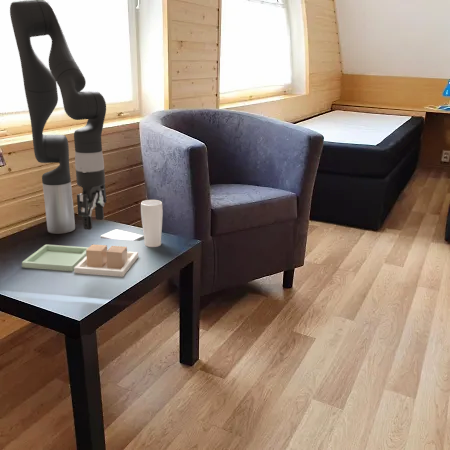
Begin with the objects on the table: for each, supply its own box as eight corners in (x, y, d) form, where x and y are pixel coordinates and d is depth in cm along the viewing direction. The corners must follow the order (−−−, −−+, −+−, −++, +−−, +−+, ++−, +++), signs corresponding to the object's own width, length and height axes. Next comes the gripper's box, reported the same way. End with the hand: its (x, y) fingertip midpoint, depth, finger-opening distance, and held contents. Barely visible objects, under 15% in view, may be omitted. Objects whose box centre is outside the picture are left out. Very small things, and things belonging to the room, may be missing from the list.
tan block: (112, 261, 140) (111, 245, 138) (127, 262, 139) (126, 246, 137) (107, 267, 135) (106, 251, 134) (122, 268, 135) (121, 252, 133)
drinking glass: (159, 251, 150) (158, 206, 145) (139, 249, 151) (137, 204, 146) (166, 243, 156) (165, 200, 152) (146, 242, 158) (144, 198, 153)
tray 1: (46, 251, 148) (45, 244, 147) (92, 255, 146) (91, 247, 146) (22, 270, 135) (21, 262, 134) (72, 274, 133) (72, 266, 132)
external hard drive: (128, 247, 155) (100, 239, 160) (144, 239, 162) (116, 232, 167) (128, 242, 154) (100, 235, 160) (144, 235, 161) (116, 228, 167)
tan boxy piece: (93, 260, 140) (92, 244, 139) (108, 261, 140) (106, 245, 138) (87, 266, 136) (86, 250, 134) (102, 267, 136) (101, 251, 134)
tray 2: (94, 256, 145) (93, 249, 144) (138, 259, 144) (138, 252, 143) (74, 276, 132) (74, 267, 131) (123, 279, 131) (122, 271, 130)
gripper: (87, 162, 136) (91, 215, 141) (65, 172, 122) (70, 231, 127) (112, 163, 135) (115, 217, 140) (92, 173, 121) (97, 233, 127)
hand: (94, 224), depth 134 cm, fingers open, 8 cm apart
